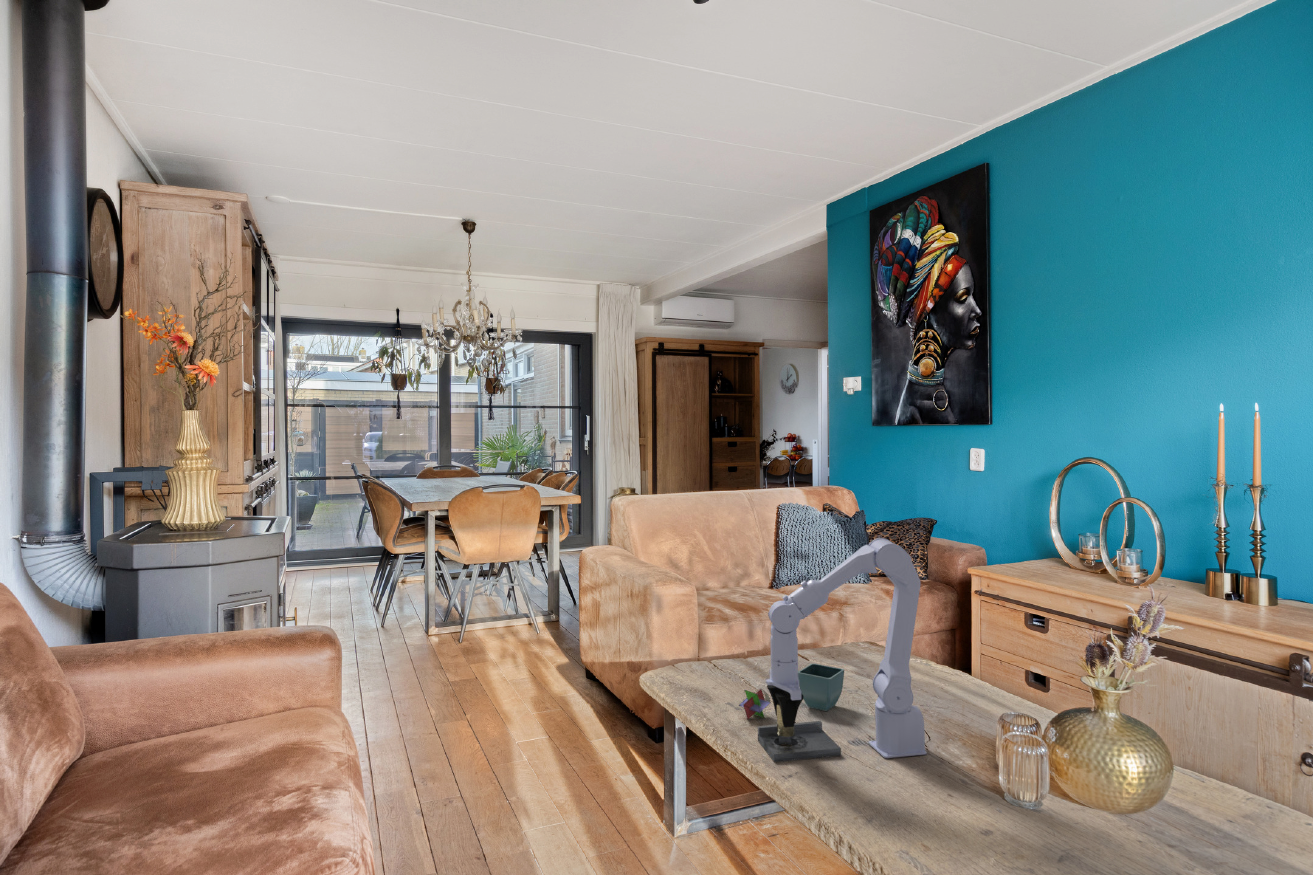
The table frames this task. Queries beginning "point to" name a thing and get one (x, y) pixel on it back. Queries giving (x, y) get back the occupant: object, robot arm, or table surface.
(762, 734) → the jig
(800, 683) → the flower pot
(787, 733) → the brass cylinder plug
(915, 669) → the table surface
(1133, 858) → the table surface
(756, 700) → the geometric puzzle
